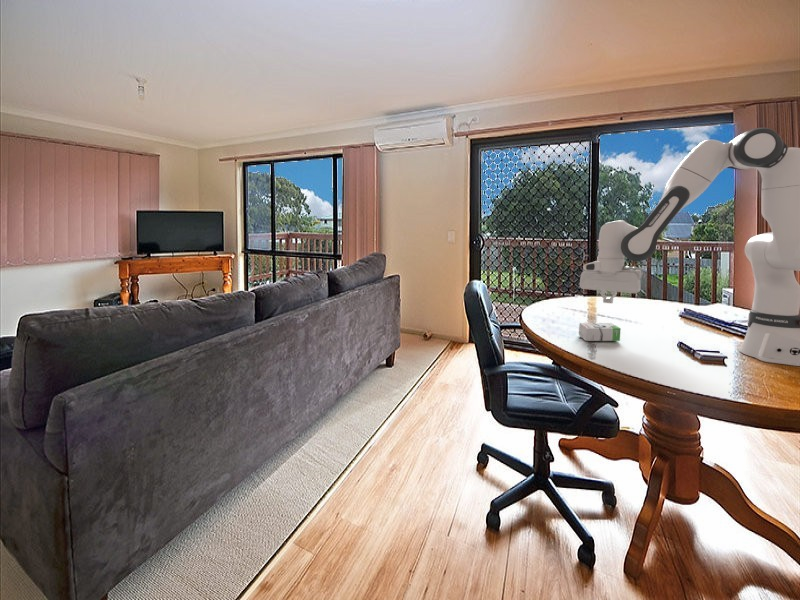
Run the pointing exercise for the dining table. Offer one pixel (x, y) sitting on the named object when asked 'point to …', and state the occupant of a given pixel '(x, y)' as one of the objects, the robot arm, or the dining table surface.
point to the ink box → (599, 332)
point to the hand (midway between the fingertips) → (607, 302)
